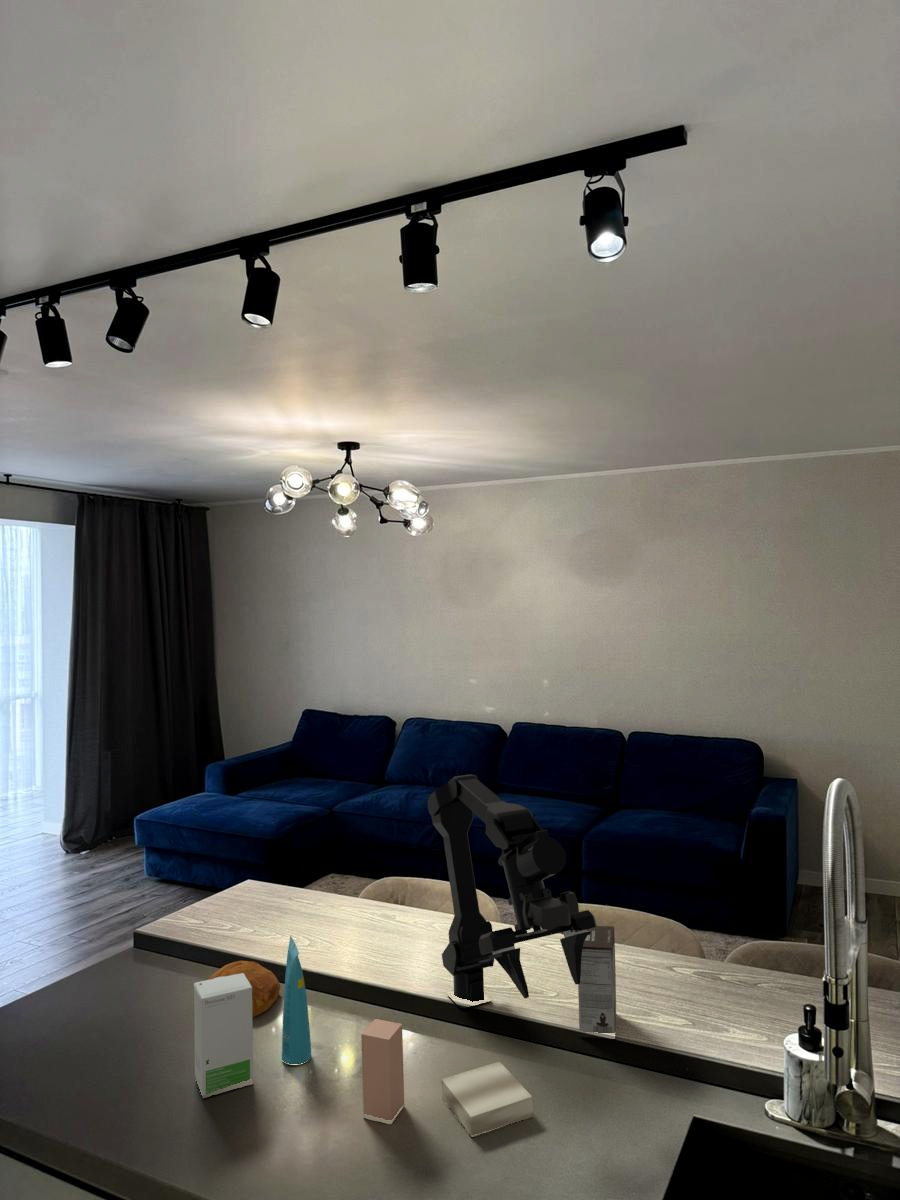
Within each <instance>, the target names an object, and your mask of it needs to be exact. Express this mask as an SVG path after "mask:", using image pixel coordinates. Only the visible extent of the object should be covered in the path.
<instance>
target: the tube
mask: <svg viewBox="0 0 900 1200" xmlns="http://www.w3.org/2000/svg"><path fill="white" fill-rule="evenodd" d="M299 954H300V952H299V949H298V946H297V944H296V942H295V940H294V938H293V936H292V934H290V936H289V943H288V948H287V955H286V956H287V957H286V966H285V967H286V968H285V979H284V989H283V990H284V992H283V993H284V994H283V1007H282V1030H281V1031H282V1032H281V1035H282V1036H281V1037H282V1038H281V1061H282V1060H283V1061H284V1062H286V1063H289V1064H301V1063H304V1062H306V1061H307V1060H309V1059H310V1060H311V1058H312V1043H311V1029H310V1017H309V1008H308V999H307V992H306V991H307V989H306V984H305V977H304V973H303V968H302V965H301V962H300V957H299ZM310 1060H309V1061H310ZM306 1063H307V1062H306Z"/></svg>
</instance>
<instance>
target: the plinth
mask: <svg viewBox="0 0 900 1200" xmlns="http://www.w3.org/2000/svg"><path fill="white" fill-rule="evenodd" d="M442 1098H443V1099H442ZM441 1099H442V1101H443V1100H444V1101H445V1102H446V1103H447V1105H448V1106H449V1107H450V1108H451V1110H452V1111H453V1112H454V1114H455V1115H456V1117H457V1118H458V1119H459V1120H460V1122H461V1123H462V1124H463V1125H464V1126H465V1128H466V1129H467V1130H468V1132H469V1133H470V1134H471V1135H475V1134H479V1133H482V1132H484V1131H489V1130H492V1129H495V1128H498V1127H501V1126H504V1125H507V1124H511V1125H513V1124H512V1123H514V1124H516V1123H515V1122H517V1123H520V1122H522V1121H521V1120H523V1121H525V1120H528V1119H531V1118H533V1096H532V1094H530V1093H529V1091H527V1090H526V1088H524V1086H523V1085H522V1084H521V1083H520V1082H519V1081H518V1080H517V1078H516V1077H514V1075H513V1074H511V1072H510V1071H509V1070H508V1068H507V1067H505V1066H504V1064H502V1063H501V1061H497V1062H493V1063H489V1064H486V1065H483V1066H480V1067H477V1068H474V1069H470V1070H466V1071H464V1072H460V1073H457V1074H455V1075H451V1076H447V1077H445V1078H441ZM444 1101H443V1102H444ZM445 1102H444V1103H445ZM446 1103H445V1104H446ZM447 1105H446V1106H447ZM448 1106H447V1107H448ZM449 1107H448V1108H449ZM451 1110H450V1111H451ZM452 1111H451V1112H452ZM454 1114H453V1115H454ZM455 1115H454V1116H455ZM456 1117H455V1118H456ZM457 1118H456V1119H457ZM458 1119H457V1120H458ZM519 1121H520V1122H519ZM460 1122H459V1123H460ZM461 1123H460V1124H461Z"/></svg>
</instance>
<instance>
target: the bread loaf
mask: <svg viewBox="0 0 900 1200" xmlns="http://www.w3.org/2000/svg"><path fill="white" fill-rule="evenodd" d="M241 973H244V975H245V976H246V978H247V980H248V981H249V983H250V985H251V987H252V1019H253V1018H255V1017H257V1016H260V1015H261V1014H263V1013H264V1012H266V1011H267V1010H269V1009H270V1008H271V1007H272V1006H273V1003H275V1001H277V999H278V997H279V996H280V990H281V983H280V981H279V980H278V977H276V975H275V974H274V973H273V971H271V970H269V969H267V968H266V967H263V966H262V965H261V964H259V963H258V962H256V961H248V960H238V961H233V962H231V963H228V964H225V965H224V966H222V967H221V968H219V969H218V970H217V971H214V973H213V974H212V975H210V976H209V977H208V978H207V979H206V980H211V979H214V978H217V977H226V976H231V975H236V974H241Z"/></svg>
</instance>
